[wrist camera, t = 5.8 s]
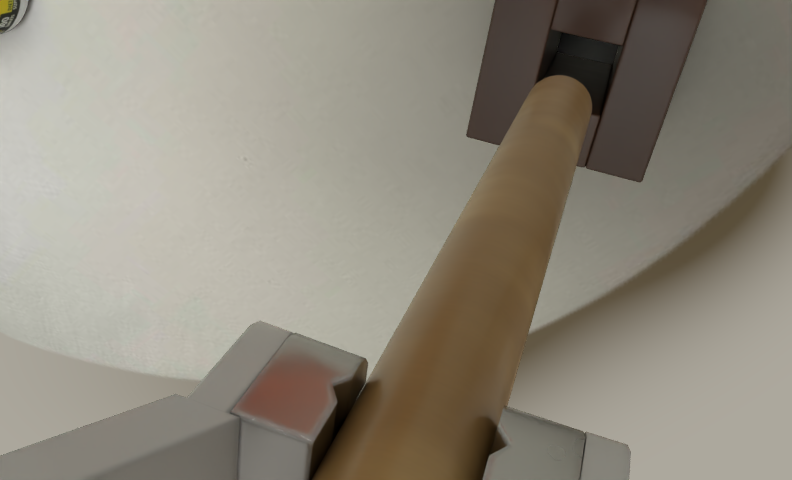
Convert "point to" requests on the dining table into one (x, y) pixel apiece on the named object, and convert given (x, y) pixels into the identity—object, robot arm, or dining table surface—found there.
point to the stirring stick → (470, 310)
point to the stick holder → (589, 71)
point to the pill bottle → (11, 13)
